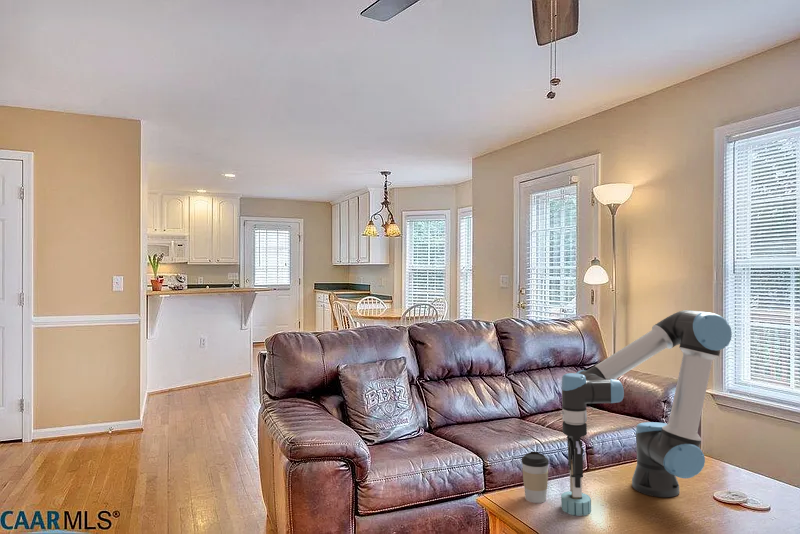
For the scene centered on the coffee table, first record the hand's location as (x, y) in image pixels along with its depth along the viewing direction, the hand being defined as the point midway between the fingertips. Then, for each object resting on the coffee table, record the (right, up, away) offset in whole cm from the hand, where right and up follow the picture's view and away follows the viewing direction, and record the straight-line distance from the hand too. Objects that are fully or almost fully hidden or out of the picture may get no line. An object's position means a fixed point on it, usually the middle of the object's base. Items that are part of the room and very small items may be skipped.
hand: (575, 493), depth 171 cm
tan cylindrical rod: (0, -5, 0) cm, 5 cm away
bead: (0, -5, 0) cm, 5 cm away
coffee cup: (-11, -6, +8) cm, 15 cm away
